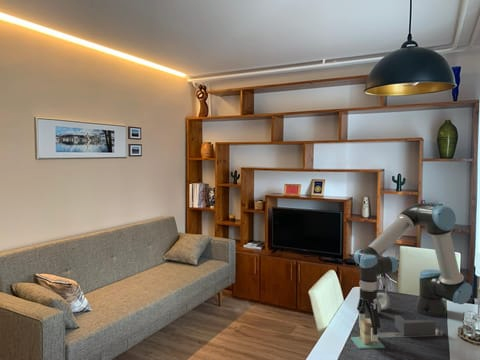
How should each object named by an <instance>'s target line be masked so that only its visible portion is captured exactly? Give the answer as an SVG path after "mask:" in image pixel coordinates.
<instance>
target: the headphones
mask: <svg viewBox="0 0 480 360" xmlns="http://www.w3.org/2000/svg"><path fill="white" fill-rule="evenodd" d="M379 280H380V281H381V282H382V284H383V286H384V287H385V288H384V289H385V292H377V298H376V299H374V304H377V310H378V314H379V313H380V312H381V311H383V310H384V311H385V310H387V309H389V308H390V306H391V304H392V303H391V297H390V295H389V294H387V293H388V282H387V280H386V278H385V277H383V276H381V275H377V281H379Z"/></svg>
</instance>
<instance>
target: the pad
mask: <svg viewBox="0 0 480 360" xmlns="http://www.w3.org/2000/svg"><path fill="white" fill-rule="evenodd" d="M350 340H352V342H353V344H354V345H355V346H356V347H357V349H358V348H359V349H358V350H365V349H367V350H368V349H385V345H384V344H383V342H381V341H380V339H378V341H375V344H369V345H364V344H363V342H362V341H361V340H360V336H351V337H350Z"/></svg>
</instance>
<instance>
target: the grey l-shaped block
mask: <svg viewBox="0 0 480 360" xmlns="http://www.w3.org/2000/svg"><path fill="white" fill-rule="evenodd" d="M436 324H437V322H436V321H435V320H434V319H431V318H430V319H410V320H409V319H407V320H405V319H404V318H403V317H402V315H397V314H396V315H395V314H394V328H395V329H396V330H397V332H401V333H402V334H403V335H427V334H436V326H437V325H436Z"/></svg>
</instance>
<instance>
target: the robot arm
mask: <svg viewBox="0 0 480 360" xmlns="http://www.w3.org/2000/svg"><path fill="white" fill-rule="evenodd" d="M456 216H457V215H456V214H455V211H454V210H453V209H452V208H450V207H448V206H445V205H441V204H432V203H423V202H420V203H415V204H412V205H410V206H408V207H407V208H406V209H403V210H402V211H401V213H399V214H398V215H397V218H396V220H394V221H393V222H392V223H391V225H389V226H388V227H387V228H386V229H385V230H384V231H383V232H382V233H380V234H379V235H378V236H377V237H376V238H375V239H374V240H373V241H371V242H370V243H369V245H368V246H366V247H365V248H364V249H357V250H356V251H355V252H354V254H353V260H354V262H355V263H356V264H358V265H359V282H358V284H359V300H358V303H357V307H356V310H357V311H358V328H360V319H365V318H366V312H367V313H368V315H369V318H370V320H371V324H372V326H371V341H378V340H379V338H378V333H379V332H378V331H379V329H380V328H381V322H380V317H379V313H378V310H377V304H374V299H376V298H377V293H378V291H377V289H378V280H377V276H381V275H386V274H393V273H395V272H397V271H398V269H399V262H398V259H396V257H394V256H388V255H387V256H383V254H385V252H386V251H388V250H389V249H390V248H391V247H392V246H393V245H394V244H395V243H396V242H397V241H398V240H399V239H401V237H402V236H404V235H405V234H406V232H408V231H409V230H413V229H414V228H415V227H417V226H422V227H425V228H426V233H427V234H428V235H430V236H431V239H432V245H433V247H434V252H435V256H436V260H437V263H438V267H439V270H438V269H424V270H421V271H420V273H419V295H418V299H417V301H416V304H415V311H416V312H418V313H420V314H422V315H425V316H427V317H435V318H440V317H444V316H446V314H447V310H446V307H445V302H444V300H445V301H449V302H450V303H451V302H452V303H453V304H458V305H464V304H466V303H467V302H469V300H470V299H471V296H472V294H473V288H472V285H471V284H470V283H469V282H466V281H465V280H466V279H465V277H464V274H462V273H461V272H460V269H459V265H458V262H457V256H456V253H455V248H454V244H453V239H452V236H451V234H452V233H451V232H453V229H454V228H455V226H456V222H457V218H456Z"/></svg>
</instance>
